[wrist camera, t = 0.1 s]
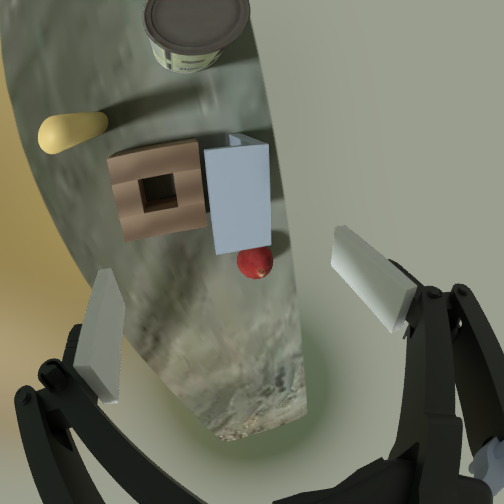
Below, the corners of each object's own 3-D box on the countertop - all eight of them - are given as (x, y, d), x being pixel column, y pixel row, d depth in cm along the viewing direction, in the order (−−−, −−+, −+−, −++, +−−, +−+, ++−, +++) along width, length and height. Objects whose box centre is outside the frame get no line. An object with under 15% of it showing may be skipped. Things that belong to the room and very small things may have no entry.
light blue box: (194, 138, 37) (205, 150, 26) (239, 133, 38) (268, 144, 27) (203, 213, 43) (216, 254, 32) (244, 207, 44) (271, 244, 33)
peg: (84, 115, 30) (35, 122, 17) (107, 108, 31) (68, 110, 17) (87, 138, 32) (41, 158, 18) (109, 132, 32) (73, 147, 19)
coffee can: (205, 2, 26) (223, -41, 14) (236, 54, 32) (268, 31, 20) (139, 33, 26) (125, -2, 15) (171, 86, 32) (170, 73, 20)
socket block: (114, 153, 34) (106, 159, 30) (194, 138, 37) (197, 141, 32) (129, 227, 40) (125, 241, 36) (203, 213, 43) (207, 226, 39)
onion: (259, 229, 47) (275, 252, 40) (269, 255, 50) (285, 280, 43) (227, 243, 47) (238, 269, 40) (239, 269, 50) (251, 296, 43)
